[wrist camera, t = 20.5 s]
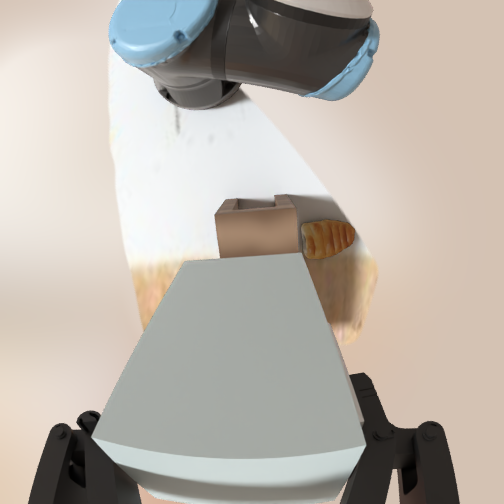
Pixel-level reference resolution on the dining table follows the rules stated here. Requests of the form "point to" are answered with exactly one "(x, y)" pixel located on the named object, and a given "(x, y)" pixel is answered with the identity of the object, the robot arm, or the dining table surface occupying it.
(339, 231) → the pastry
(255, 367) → the white stepped block
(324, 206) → the dining table surface
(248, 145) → the dining table surface
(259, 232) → the bench
